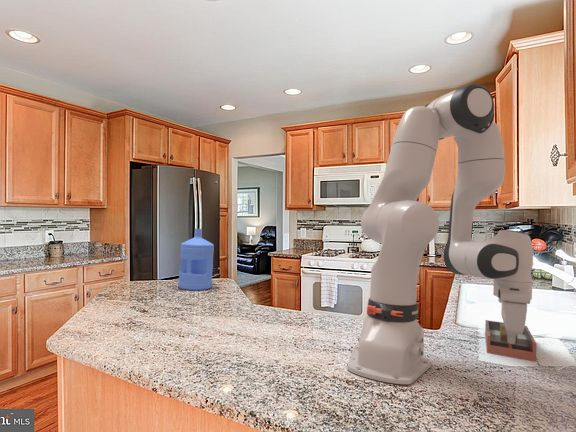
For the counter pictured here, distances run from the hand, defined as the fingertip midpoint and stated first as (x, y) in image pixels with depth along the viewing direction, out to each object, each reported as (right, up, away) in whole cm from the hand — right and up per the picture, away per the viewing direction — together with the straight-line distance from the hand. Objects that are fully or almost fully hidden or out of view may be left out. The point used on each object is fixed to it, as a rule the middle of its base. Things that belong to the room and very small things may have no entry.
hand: (510, 342), depth 97 cm
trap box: (+3, -4, +7) cm, 8 cm away
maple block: (+3, -1, +6) cm, 7 cm away
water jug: (-104, 0, +75) cm, 128 cm away
